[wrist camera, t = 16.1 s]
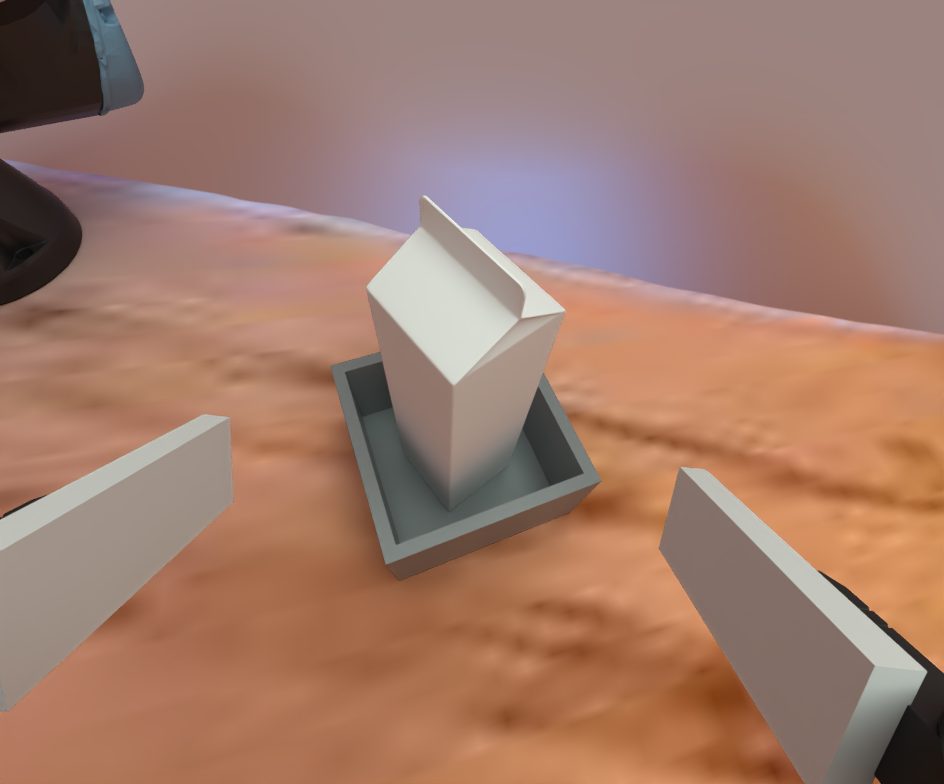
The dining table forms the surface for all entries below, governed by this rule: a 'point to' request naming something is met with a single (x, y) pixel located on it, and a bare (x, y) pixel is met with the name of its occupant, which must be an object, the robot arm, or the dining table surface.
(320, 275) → the dining table surface
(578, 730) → the dining table surface
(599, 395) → the dining table surface
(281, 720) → the dining table surface
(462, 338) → the milk
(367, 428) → the tray
